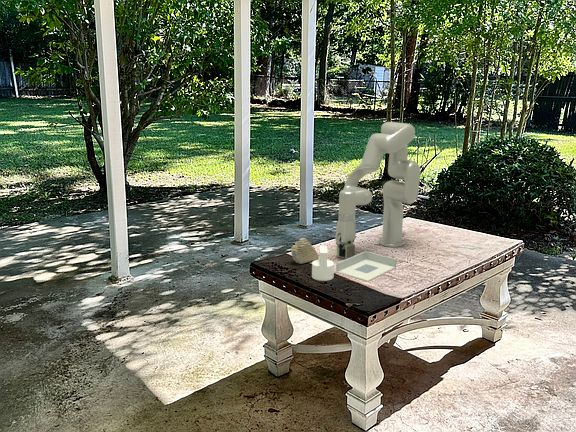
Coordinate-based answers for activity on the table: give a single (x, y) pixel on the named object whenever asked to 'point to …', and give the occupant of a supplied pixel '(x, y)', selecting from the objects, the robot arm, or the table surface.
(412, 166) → the robot arm
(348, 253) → the block
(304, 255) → the fossil tooth
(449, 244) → the table surface
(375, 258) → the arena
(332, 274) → the white knob
